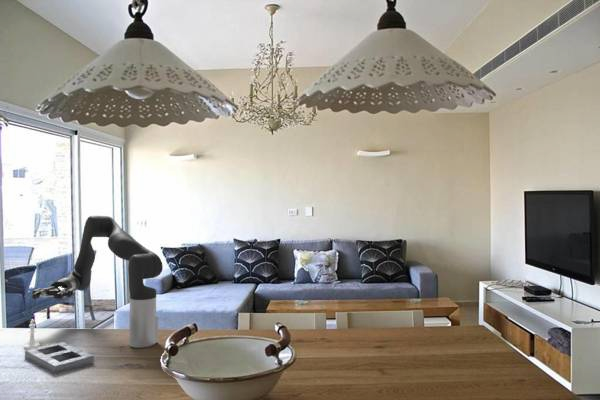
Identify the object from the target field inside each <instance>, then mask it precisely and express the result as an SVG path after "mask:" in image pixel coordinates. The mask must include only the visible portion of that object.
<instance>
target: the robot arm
mask: <svg viewBox="0 0 600 400" xmlns="http://www.w3.org/2000/svg"><path fill="white" fill-rule="evenodd" d="M93 238H108V240H107V247H108V248H109V250H110V251H111V252H112V253H113V254H114V255H115V256H116V257H118V258H119V259H122V260H124V261H128V266H127V267H128V268H127V271H128V291H129V326H128V327H129V333H128V334H129V335H128V339H129V340H128V345H129V347H131V348H137V349H138V348H139V349H140V348H149V347H152V346H154V345H155V344H156V343H157V342H158V343H159V317H158V316H157V289H156V288H154V287H150V286H147V285H145V283H144V280H147V279H155V278H157V277H159V276H160V275H161V273H162V271H163V265H164V264H163V262H162V259H161V258H160V256H159V255H158V254H156V253H155V252H154V251H151V250H150V249H148V248H146V247H145V246H144V245H142V244H141V243H140V242H139V241H137V240H136V239H135V238H134V237H133V236H131V235H130V234H129V233H127V232H126V231H125V230H124V229H123V228H122V227H121V226H120V225H119V224H118V223H117V221H116V220H114V218H113V217H111V216H108V215H90V216H88V217H87V218H86V220H85V223H84V228H83V232H82V237H81V242H80V248H79V249H80V250H79V251H78V256H77V259H76V261H75V264H74V267H73V270H70V271H68V273H67V274H66V276H65V277H64V278H60V279H59V280H56V281H54V282H52V283H51V284H50V286H49V287H44V288H42V287H39V288H36V289H34V290H32V295H31V296H32V300H37V299H39V298H45V299H46V298H53V299H54V300H55V299H56V300H61V299H64V298H70V297H73V296H74V295H75V293H76V291H77V290H78V291H80V292H82V291H86V290H87V289H88V288H89V287H90V284H91V279H92V276H91V275H92V268H93V265H94V263H95V260H96V253H95V250H94V248H93V245H92V239H93Z"/></svg>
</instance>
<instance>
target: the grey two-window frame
mask: <svg viewBox="0 0 600 400" xmlns="http://www.w3.org/2000/svg"><path fill="white" fill-rule="evenodd" d="M24 358H25V359H26V360H27V361H29V362H32V363H33V364H35V365H37V366H39V367H41V368H43V369H44V370H46V371H48V372H50V373H52V374H53V375H58V374H61V373H64V372H68V371H72V370H76V369H79V368H82V367H85V366H89V365H93V364H94V361H95V357H94V355H93V354H91V353H89V352H87V351H84V350H82V349H80V348H77V347H75V346H73V345H71V344H69V343H67V342H64V341H60V342H56V343H51V344H47V345H43V346H40V347H38V348H33V349H24Z"/></svg>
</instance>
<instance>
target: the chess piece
mask: <svg viewBox="0 0 600 400" xmlns="http://www.w3.org/2000/svg"><path fill="white" fill-rule="evenodd" d="M29 323H30V324H29V325H28V327H29V330H28V333H30V335H29V341H28V343H26V344H25V345H23V349H24V350H29V349H33V348H38V347H41V345H40V343H38V342H36V340H35V333H36V329H35V327H36V324H35V320H34V318H32V319H30V322H29Z"/></svg>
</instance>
